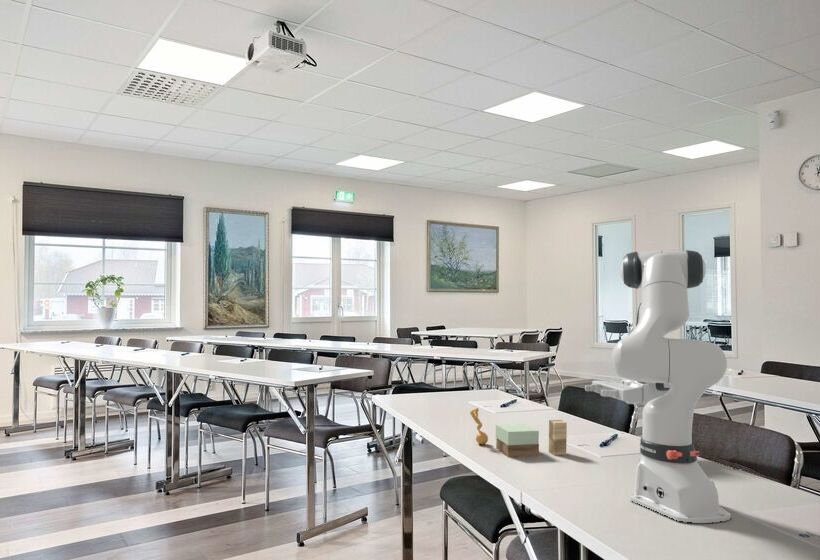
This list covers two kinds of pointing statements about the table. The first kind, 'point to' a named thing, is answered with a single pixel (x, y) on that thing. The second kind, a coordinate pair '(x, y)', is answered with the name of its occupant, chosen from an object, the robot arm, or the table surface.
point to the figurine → (481, 436)
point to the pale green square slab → (517, 434)
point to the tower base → (517, 449)
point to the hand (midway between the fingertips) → (593, 390)
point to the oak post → (557, 437)
